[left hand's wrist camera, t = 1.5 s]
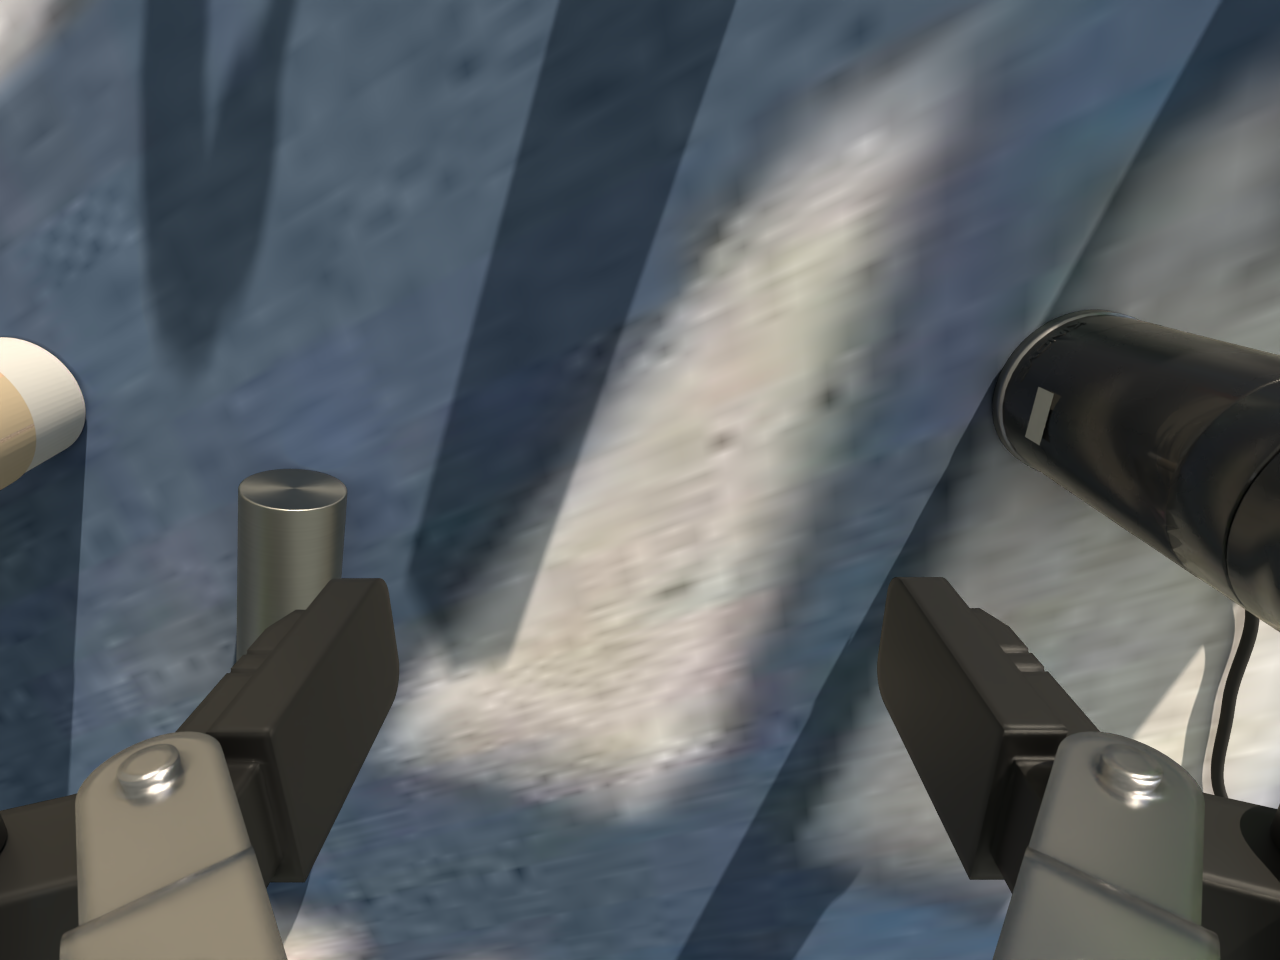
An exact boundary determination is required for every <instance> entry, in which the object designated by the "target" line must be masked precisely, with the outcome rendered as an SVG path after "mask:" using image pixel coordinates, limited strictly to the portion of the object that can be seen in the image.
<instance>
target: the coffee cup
mask: <svg viewBox="0 0 1280 960" xmlns="http://www.w3.org/2000/svg"><path fill="white" fill-rule="evenodd" d="M84 423H85V403H84V399H83V395H82V392H81V390H80V388H79V385H78V384H77V382H76V380H75V378H74V377H73V375H72V374H71V373H70V371H69V370H68V369H67V368H66V367H65V366H64V365H63V364H62V363H61V362H60V361H59V360H58V359H57V358H56V357H55V356H53V355H52V354H51V353H49V352H48V351H46V350H44V349H43V348H41V347H39V346H37V345H35V344H32V343H30V342H27V341H24V340H20V339H15V338H0V490H1V489H3V488H5V487H6V486H8V485H10V484H11V483H13V482H15V481H16V480H17V479H19V478H20V477H21V476H22V475H23V474H24V473H26V472H27V471H29V470H31V469H32V468H34V467H36V466H38V465H39V464H41V463H43V462H44V461H46V460H48V459H50V458H51V457H53V456H55V455H56V454H58V453H60V452H62V451H63V450H65V449H67V448H68V447H70V446H71V445H72V444H73V443H74V442H75V441H76V440H77V438H78V437H79V435H80V434H81V432H82V429H83V427H84Z"/></svg>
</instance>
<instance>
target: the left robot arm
mask: <svg viewBox="0 0 1280 960" xmlns="http://www.w3.org/2000/svg"><path fill="white" fill-rule="evenodd" d="M992 407H993V420H994V425H995V428H996V431H997V434H998V436H999V438H1000V440H1001V441H1002V443H1003V444H1004V446H1005V447H1006V448H1007V450H1008V451H1009V452H1010V453H1011V454H1013V455H1014V456H1015V457H1016V458H1018V459H1019V460H1020V461H1022V462H1023V463H1025V464H1026V465H1028V466H1030V467H1031V468H1033V469H1035V470H1038V471H1040V472H1042V473H1043V474H1045V475H1046V476H1048V477H1049V478H1051V479H1052V480H1053V481H1055V482H1056V483H1057V484H1059V485H1060V486H1062V487H1063V488H1065V489H1066V490H1068V491H1069V492H1071V493H1072V494H1074V495H1075V496H1077V497H1078V498H1080V499H1081V500H1083V501H1084V502H1086V503H1087V504H1089V505H1090V506H1092V507H1093V508H1095V509H1096V510H1098V511H1099V512H1101V513H1102V514H1104V515H1105V516H1107V517H1108V518H1109V519H1111V520H1112V521H1114V522H1115V523H1117V524H1118V525H1120V526H1121V527H1123V528H1124V529H1126V530H1127V531H1129V532H1130V533H1131V534H1133V535H1135V536H1136V537H1138V538H1139V539H1141V540H1142V541H1144V542H1145V543H1147V544H1148V545H1150V546H1151V547H1153V548H1154V549H1156V550H1157V551H1159V552H1160V553H1162V554H1163V555H1165V556H1166V557H1168V558H1169V559H1170V560H1172V561H1173V562H1175V563H1176V564H1178V565H1179V566H1181V567H1182V568H1184V569H1185V570H1187V571H1188V572H1190V573H1191V574H1193V575H1194V576H1196V577H1198V578H1199V579H1201V580H1202V581H1204V582H1205V583H1207V584H1208V585H1210V586H1211V587H1213V588H1214V589H1216V590H1217V591H1219V592H1220V593H1222V594H1223V595H1225V596H1226V597H1228V598H1229V599H1231V600H1232V601H1234V602H1235V603H1237V604H1238V605H1240V606H1241V607H1243V608H1244V609H1245V622H1244V628H1243V633H1242V637H1241V640H1240V643H1239V646H1238V649H1237V652H1236V655H1235V657H1234V660H1233V663H1232V666H1231V668H1230V671H1229V674H1228V678H1227V681H1226V685H1225V689H1224V693H1223V699H1222V706H1221V713H1220V719H1219V724H1218V729H1217V734H1216V738H1215V743H1214V748H1213V754H1212V761H1211V781H1212V787H1213V791H1214V794H1215V795H1211V794H1206V793H1202V791H1201V788H1200V787H1199V785H1198V784H1197V782H1196V781H1195V780H1194V779H1193V777H1192V776H1191V775H1190V774H1189V773H1188V772H1187V771H1186V770H1185V769H1184V768H1182V767H1181V766H1180V765H1179V764H1178V763H1176V762H1175V761H1173V760H1172V759H1171V758H1169V757H1168V756H1166V755H1164V754H1163V753H1161V752H1159V751H1158V750H1156V749H1154V748H1152V747H1150V746H1148V745H1146V744H1143V743H1141V742H1138V741H1136V740H1133V739H1130V738H1127V737H1124V736H1120V735H1116V734H1111V733H1104V732H1100V731H1099V730H1098V729H1097V728H1096V726H1095V725H1094V724H1093V723H1092V722H1091V721H1090V720H1089V718H1088V717H1087V716H1086V715H1085V714H1084V713H1083V711H1082V710H1081V709H1080V708H1079V707H1078V706H1077V705H1076V703H1075V702H1074V701H1073V700H1072V699H1071V698H1070V696H1069V695H1068V694H1067V693H1066V692H1065V691H1064V689H1063V688H1062V687H1061V686H1060V685H1059V684H1058V683H1057V681H1056V680H1055V679H1054V678H1053V677H1052V676H1051V674H1050V673H1049V672H1045V671H1044V666H1043V665H1042V664H1041V663H1040V662H1039V661H1038V659H1037V658H1036V657H1035V656H1034V655H1033V654H1032V653H1029V652H1028V648H1027V647H1026V646H1025V644H1024V643H1023V642H1022V641H1021V640H1020V639H1019V638H1018V636H1017V635H1016V634H1015V633H1014V632H1013V631H1012V629H1011V628H1010V627H1009V626H1007V625H1005V624H1004V623H1002V622H1001V621H999V620H998V619H996V618H994V617H993V616H991V615H990V614H988V613H986V612H985V611H983V610H982V609H980V608H969V607H968V606H967V604H966V603H965V602H964V601H963V600H962V598H961V597H960V596H959V595H958V593H957V592H956V591H955V590H954V588H953V587H952V586H951V585H950V583H949V582H948V581H947V580H946V579H945V578H943V577H895V578H893V579H892V580H891V582H890V584H889V587H888V592H887V598H886V605H885V612H884V619H883V626H882V633H881V639H880V646H879V653H878V661H877V675H878V684H879V689H880V693H881V696H882V699H883V702H884V704H885V706H886V708H887V710H888V712H889V714H890V716H891V718H892V720H893V722H894V724H895V726H896V729H897V731H898V733H899V735H900V737H901V739H902V741H903V743H904V745H905V747H906V749H907V751H908V753H909V755H910V757H911V759H912V761H913V764H914V766H915V768H916V770H917V772H918V774H919V776H920V778H921V780H922V782H923V784H924V786H925V788H926V790H927V792H928V794H929V797H930V799H931V801H932V803H933V805H934V807H935V809H936V811H937V813H938V815H939V817H940V819H941V821H942V823H943V825H944V827H945V829H946V832H947V834H948V836H949V838H950V840H951V842H952V844H953V846H954V848H955V850H956V852H957V854H958V856H959V858H960V860H961V862H962V864H963V867H964V869H965V871H966V873H967V875H968V877H969V879H970V880H1005V881H1006V883H1007V885H1008V887H1009V889H1010V891H1011V893H1012V897H1011V900H1010V904H1009V907H1008V910H1007V914H1006V917H1005V920H1004V924H1003V927H1002V930H1001V933H1000V937H999V940H998V943H997V947H996V950H995V953H994V956H993V960H1280V805H1279V807H1278V809H1274V808H1269V807H1265V806H1260V805H1256V804H1251V803H1247V802H1242V801H1238V800H1233V799H1229V798H1228V796H1227V793H1226V790H1225V786H1224V778H1223V772H1224V762H1225V756H1226V751H1227V746H1228V742H1229V738H1230V733H1231V728H1232V723H1233V718H1234V711H1235V705H1236V699H1237V694H1238V690H1239V687H1240V683H1241V680H1242V677H1243V674H1244V672H1245V669H1246V666H1247V664H1248V661H1249V658H1250V655H1251V653H1252V650H1253V647H1254V644H1255V641H1256V637H1257V632H1258V627H1259V619H1260V620H1262V621H1263V622H1265V623H1267V624H1268V625H1270V626H1271V627H1273V628H1274V629H1276V630H1277V631H1279V632H1280V355H1276V354H1272V353H1268V352H1264V351H1260V350H1256V349H1252V348H1248V347H1244V346H1240V345H1236V344H1232V343H1228V342H1224V341H1220V340H1216V339H1212V338H1208V337H1204V336H1200V335H1196V334H1192V333H1188V332H1184V331H1180V330H1176V329H1172V328H1168V327H1164V326H1161V325H1157V324H1153V323H1148V322H1144V321H1140V320H1138V319H1136V318H1134V317H1131V316H1128V315H1124V314H1120V313H1116V312H1111V311H1106V310H1084V311H1078V312H1073V313H1070V314H1066V315H1064V316H1061V317H1058V318H1056V319H1054V320H1052V321H1050V322H1048V323H1046V324H1045V325H1043V326H1041V327H1040V328H1038V329H1037V330H1036V331H1034V332H1033V333H1032V334H1030V335H1029V336H1028V337H1027V338H1026V339H1025V340H1024V341H1023V342H1022V343H1021V344H1020V345H1019V346H1018V347H1017V348H1016V349H1015V351H1014V352H1013V353H1012V354H1011V356H1010V357H1009V359H1008V360H1007V362H1006V364H1005V365H1004V367H1003V369H1002V371H1001V373H1000V375H999V378H998V380H997V383H996V387H995V391H994V396H993V405H992ZM398 681H399V659H398V652H397V645H396V638H395V632H394V625H393V618H392V611H391V604H390V598H389V592H388V588H387V585H386V583H385V581H384V580H383V579H381V578H334V579H332V580H330V581H329V582H328V583H327V584H326V586H325V587H324V588H323V589H322V590H321V592H320V593H319V594H318V595H317V597H316V598H315V599H314V600H313V601H312V603H311V604H310V605H309V606H308V608H307V609H306V610H294V611H293V612H291V613H290V614H288V615H286V616H285V617H283V618H282V619H280V620H279V621H277V622H275V623H274V624H272V625H271V626H269V627H267V628H266V629H265V630H264V631H263V632H262V634H261V635H260V636H259V637H258V638H257V639H256V640H255V642H254V643H253V644H252V645H251V646H250V647H249V648H248V650H247V654H246V655H242V656H241V658H240V659H239V660H238V661H237V662H236V663H235V664H234V666H233V667H232V668H231V673H227V674H226V675H225V676H224V677H223V678H222V679H221V681H220V682H219V683H218V684H217V685H216V686H215V687H214V689H213V690H212V691H211V692H210V693H209V694H208V695H207V697H206V698H205V699H204V700H203V701H202V702H201V703H200V705H199V706H198V707H197V708H196V709H195V710H194V711H193V713H192V714H191V715H190V716H189V717H188V718H187V719H186V721H185V722H184V723H183V724H182V725H181V726H180V727H179V729H178V730H177V731H176V732H175V733H169V734H164V735H160V736H156V737H153V738H150V739H147V740H144V741H142V742H139V743H137V744H134V745H132V746H130V747H128V748H126V749H124V750H122V751H121V752H119V753H117V754H116V755H114V756H112V757H111V758H109V759H108V760H107V761H105V762H104V763H102V764H101V765H100V766H99V767H98V768H96V769H95V770H94V771H93V772H92V773H91V774H90V775H89V776H88V777H87V779H86V780H85V781H84V782H83V784H82V785H81V787H80V788H79V791H78V793H77V794H73V795H69V796H65V797H61V798H56V799H52V800H47V801H43V802H38V803H34V804H29V805H25V806H20V807H16V808H11V809H7V810H2V811H0V960H287V956H286V953H285V950H284V947H283V943H282V940H281V937H280V933H279V930H278V927H277V924H276V920H275V917H274V914H273V910H272V907H271V904H270V900H269V897H268V894H267V891H266V888H267V886H268V884H269V883H270V882H305V881H306V879H307V877H308V875H309V873H310V871H311V869H312V867H313V865H314V863H315V860H316V858H317V856H318V854H319V852H320V850H321V848H322V846H323V844H324V842H325V840H326V838H327V836H328V834H329V832H330V830H331V828H332V826H333V824H334V822H335V820H336V818H337V816H338V814H339V812H340V810H341V808H342V806H343V804H344V801H345V799H346V797H347V795H348V793H349V791H350V789H351V787H352V785H353V783H354V781H355V779H356V777H357V775H358V773H359V771H360V769H361V767H362V765H363V763H364V761H365V759H366V757H367V755H368V753H369V751H370V749H371V747H372V745H373V742H374V740H375V738H376V736H377V734H378V732H379V730H380V728H381V726H382V724H383V722H384V720H385V718H386V716H387V714H388V712H389V710H390V708H391V706H392V704H393V701H394V699H395V696H396V692H397V687H398Z"/></svg>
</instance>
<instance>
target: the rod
mask: <svg viewBox="0 0 1280 960" xmlns="http://www.w3.org/2000/svg"><path fill="white" fill-rule="evenodd" d="M346 504H347V488H346V486H345V485H344V484H343V483H342V482H341V481H340V480H338V479H337V478H335V477H332V476H330V475H327V474H324V473H321V472H316V471H311V470H303V469H277V470H269V471H264V472H260V473H257V474H254V475H251V476H249V477H247V478H246V479H244V480H243V481H242V482H241V483H240V485H239V488H238V562H237V659H236V662H237V661H238V660H239V659H240V658H241V656H242V655H246V654H247V650H248V648H249V647H250V646H251V645H252V644H253V643H254V642H255V640H256V639H257V638H258V637H259V636H260V635H261V634H262V632H263V631H264V630H265V629H266V628H267V627H269V626H271V625H272V624H274V623H275V622H277V621H279V620H280V619H282V618H283V617H285V616H286V615H288V614H290V613H291V612H293V611H294V610H306V609H307V608H308V606H309V605H310V604H311V603H312V601H313V600H314V599H315V598H316V597H317V595H318V594H319V593H320V592H321V590H322V589H323V588H324V587H325V586H326V584H327V583H328V582H329V581H330V580H332V579H334V578H341V574H342V560H343V546H344V532H345V518H346Z"/></svg>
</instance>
